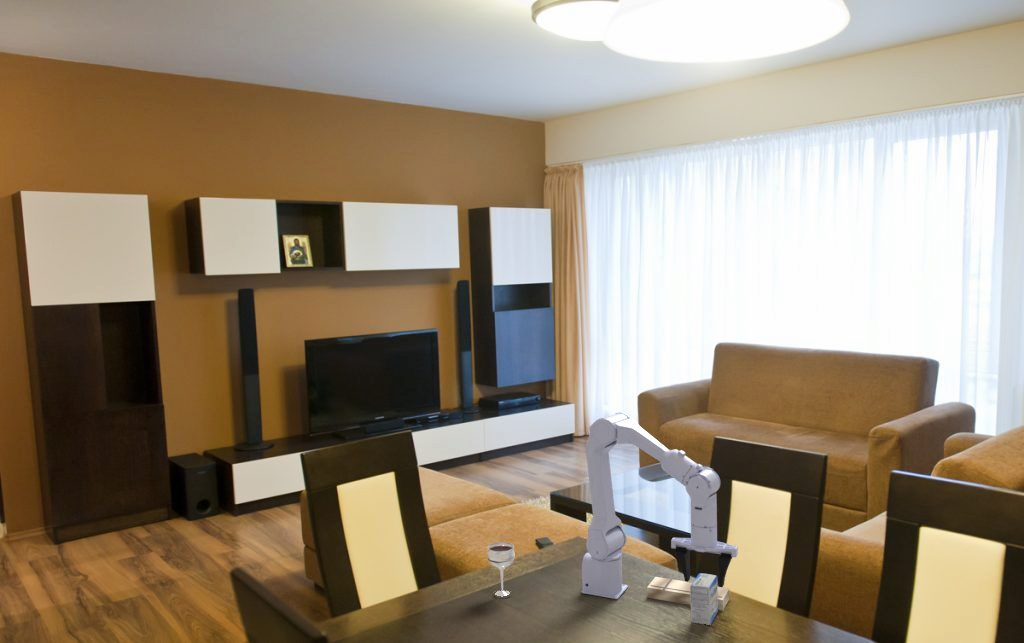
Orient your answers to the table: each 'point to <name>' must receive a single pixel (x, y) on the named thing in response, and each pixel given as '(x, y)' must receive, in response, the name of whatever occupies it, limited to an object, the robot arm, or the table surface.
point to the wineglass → (501, 560)
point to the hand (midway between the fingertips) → (704, 582)
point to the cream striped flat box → (680, 591)
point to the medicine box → (704, 599)
